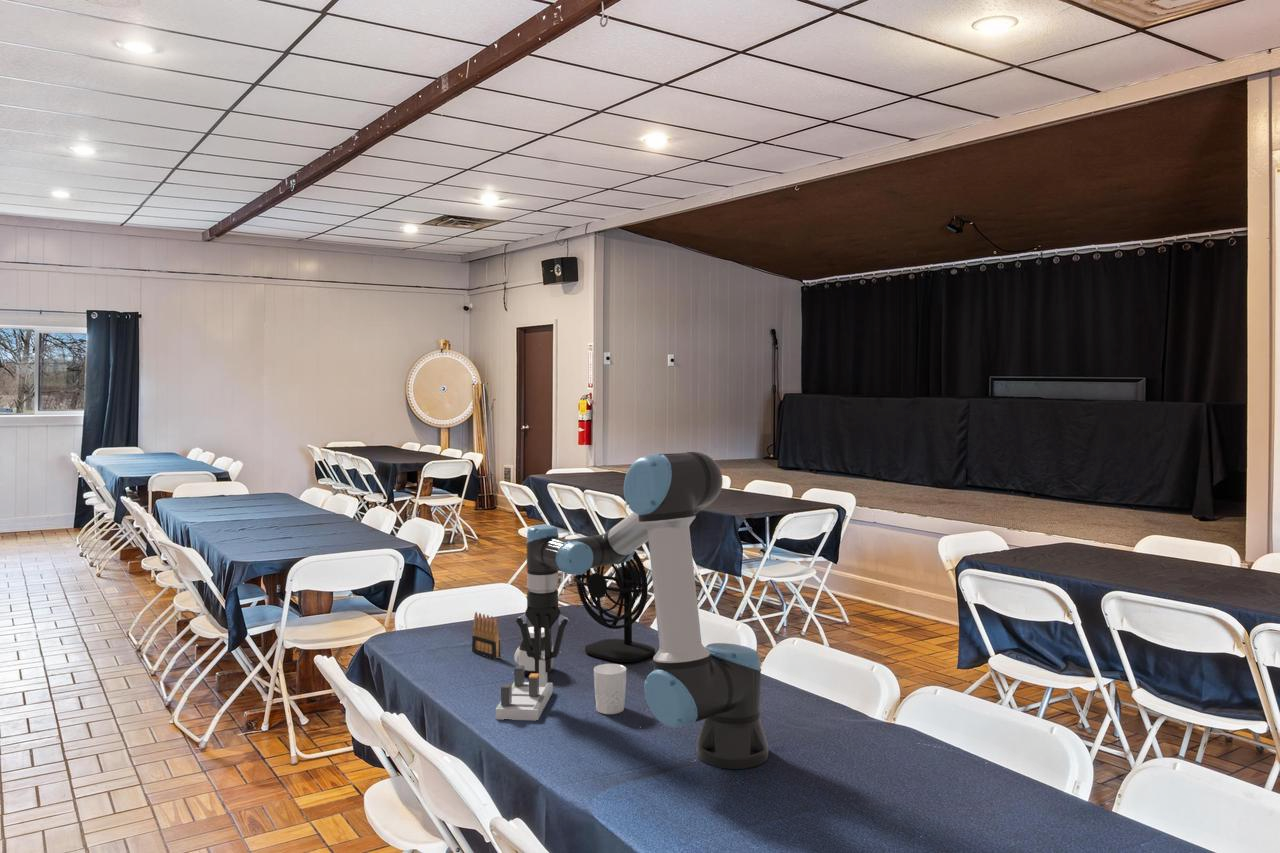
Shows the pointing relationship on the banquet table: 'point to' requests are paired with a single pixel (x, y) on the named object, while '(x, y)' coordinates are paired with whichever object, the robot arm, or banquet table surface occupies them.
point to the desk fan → (627, 584)
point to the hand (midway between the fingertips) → (543, 684)
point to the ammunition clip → (485, 636)
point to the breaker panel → (525, 703)
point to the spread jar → (521, 653)
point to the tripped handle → (534, 684)
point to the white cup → (610, 688)
